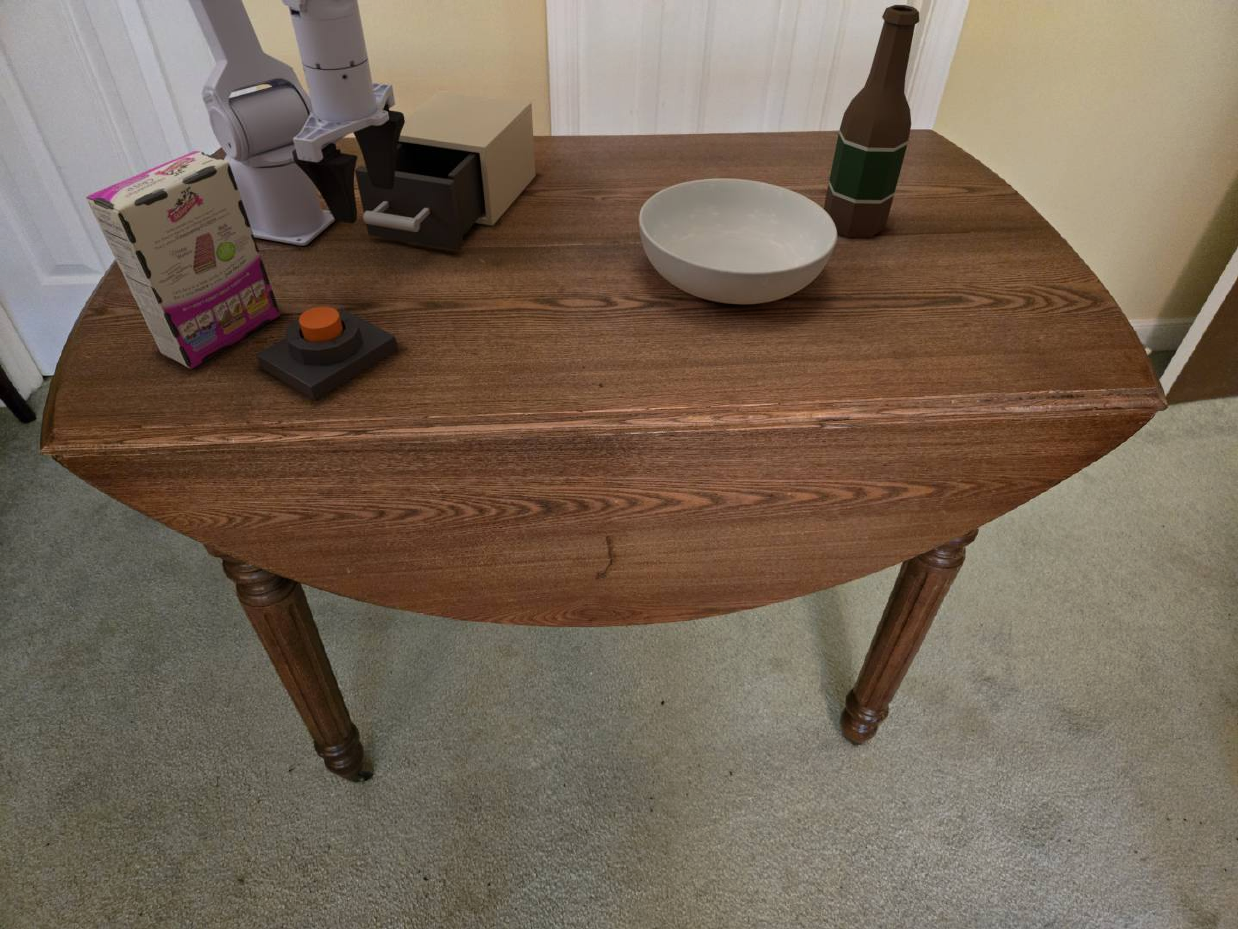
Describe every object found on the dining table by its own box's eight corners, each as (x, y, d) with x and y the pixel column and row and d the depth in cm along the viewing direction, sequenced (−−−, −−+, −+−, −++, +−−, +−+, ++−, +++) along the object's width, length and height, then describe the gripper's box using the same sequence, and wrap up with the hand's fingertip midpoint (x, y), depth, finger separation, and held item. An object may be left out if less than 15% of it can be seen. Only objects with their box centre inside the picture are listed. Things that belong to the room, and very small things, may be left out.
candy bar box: (249, 302, 86) (196, 147, 74) (283, 316, 84) (233, 160, 73) (156, 355, 79) (81, 193, 67) (189, 372, 77) (118, 208, 66)
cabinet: (492, 225, 99) (485, 147, 92) (398, 210, 101) (384, 132, 94) (535, 175, 109) (531, 101, 102) (449, 162, 111) (439, 89, 105)
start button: (320, 348, 75) (315, 332, 74) (295, 334, 76) (290, 318, 75) (351, 330, 77) (347, 315, 76) (326, 317, 78) (322, 302, 77)
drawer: (442, 268, 89) (432, 201, 84) (349, 252, 92) (334, 185, 86) (504, 199, 102) (499, 136, 96) (421, 185, 104) (411, 124, 99)
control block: (315, 401, 74) (306, 370, 72) (261, 368, 78) (250, 338, 75) (398, 350, 80) (392, 320, 78) (344, 321, 83) (336, 292, 81)
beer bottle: (814, 231, 99) (858, 13, 82) (827, 204, 104) (871, -7, 87) (879, 244, 97) (937, 23, 80) (889, 216, 102) (946, 2, 85)
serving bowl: (779, 354, 81) (790, 293, 76) (601, 291, 88) (601, 233, 84) (852, 263, 94) (866, 207, 89) (691, 215, 101) (696, 161, 97)
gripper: (332, 92, 67) (365, 243, 76) (413, 39, 77) (433, 178, 86) (256, 82, 68) (298, 231, 78) (346, 31, 78) (373, 169, 88)
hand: (365, 203), depth 82 cm, fingers open, 7 cm apart
